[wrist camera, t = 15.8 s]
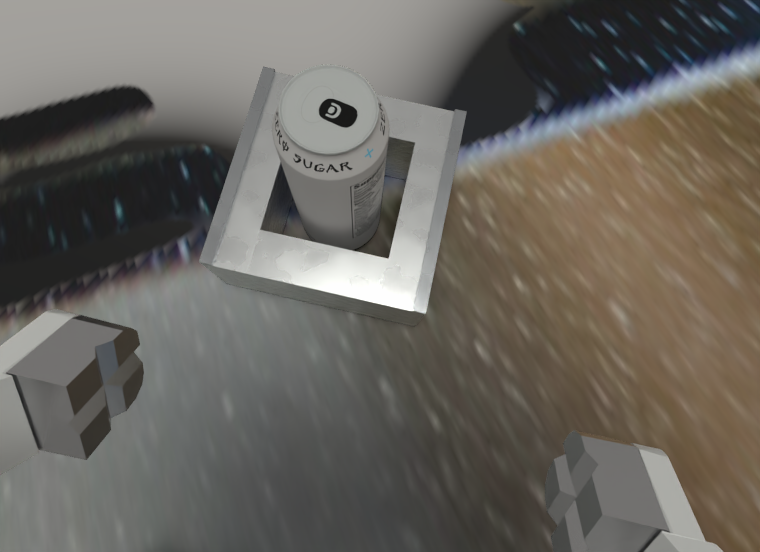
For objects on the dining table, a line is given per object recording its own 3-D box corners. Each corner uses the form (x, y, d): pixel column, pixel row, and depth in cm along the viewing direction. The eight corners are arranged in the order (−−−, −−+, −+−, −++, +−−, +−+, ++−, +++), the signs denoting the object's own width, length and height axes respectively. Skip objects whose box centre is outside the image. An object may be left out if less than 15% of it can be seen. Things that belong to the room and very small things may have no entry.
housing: (449, 155, 39) (466, 111, 33) (414, 326, 35) (425, 313, 29) (278, 117, 39) (263, 66, 33) (226, 283, 35) (198, 261, 29)
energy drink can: (323, 172, 38) (300, 36, 23) (391, 201, 38) (411, 82, 23) (289, 236, 37) (242, 134, 22) (360, 267, 36) (359, 185, 22)
